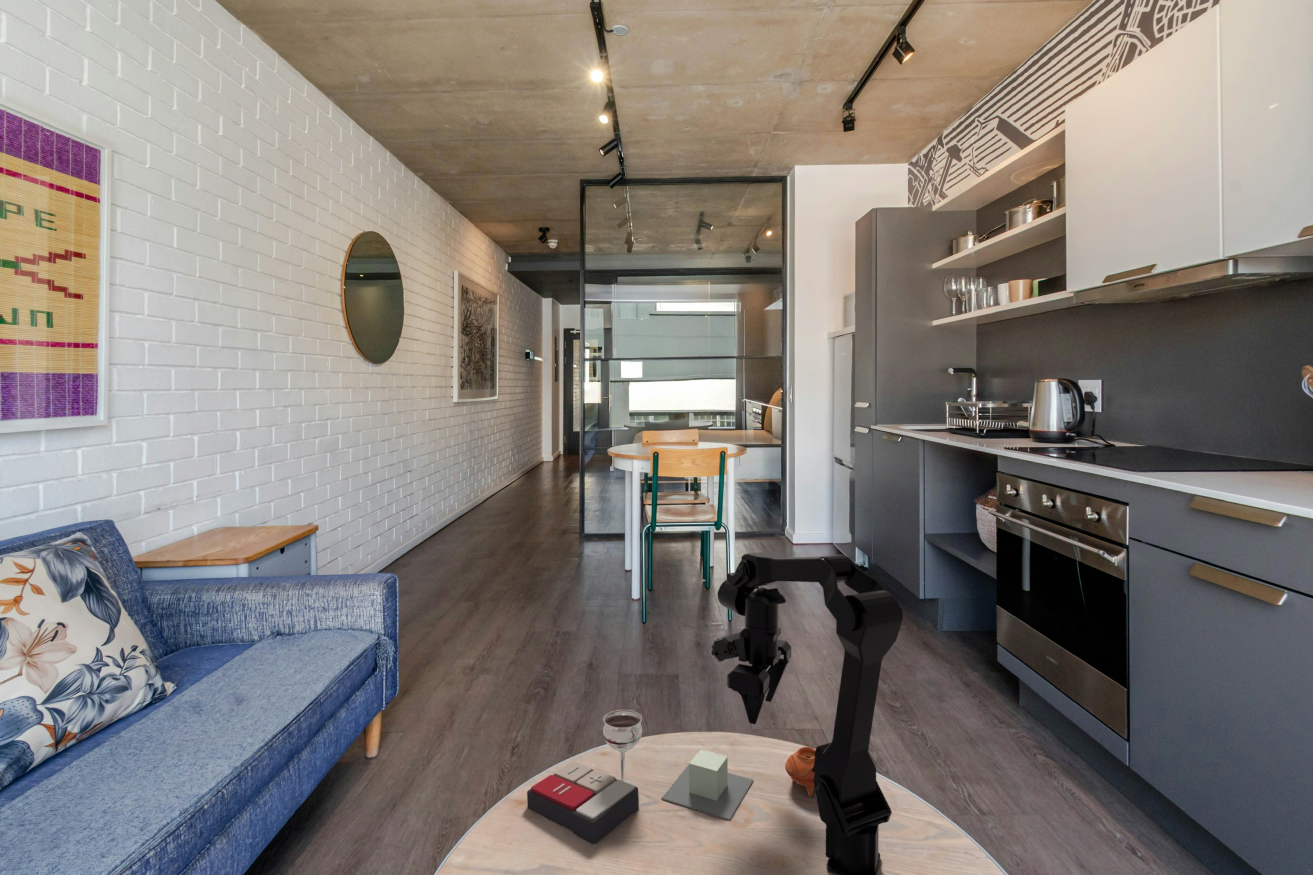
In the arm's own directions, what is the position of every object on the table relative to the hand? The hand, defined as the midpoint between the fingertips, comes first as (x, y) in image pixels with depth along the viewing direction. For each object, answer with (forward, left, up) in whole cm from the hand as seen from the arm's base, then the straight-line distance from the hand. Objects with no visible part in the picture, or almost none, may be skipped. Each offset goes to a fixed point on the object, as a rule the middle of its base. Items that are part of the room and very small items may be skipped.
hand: (760, 711), depth 107 cm
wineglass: (+20, +13, -12) cm, 27 cm away
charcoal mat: (+7, +7, -12) cm, 16 cm away
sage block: (+7, +7, -12) cm, 15 cm away
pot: (-8, -2, -12) cm, 15 cm away
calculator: (+23, +21, -13) cm, 34 cm away
